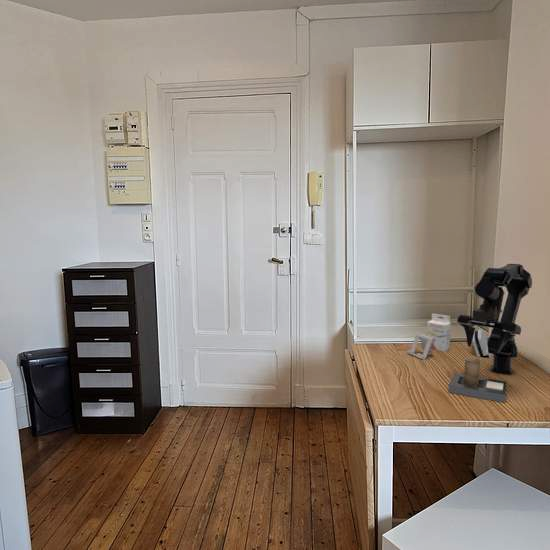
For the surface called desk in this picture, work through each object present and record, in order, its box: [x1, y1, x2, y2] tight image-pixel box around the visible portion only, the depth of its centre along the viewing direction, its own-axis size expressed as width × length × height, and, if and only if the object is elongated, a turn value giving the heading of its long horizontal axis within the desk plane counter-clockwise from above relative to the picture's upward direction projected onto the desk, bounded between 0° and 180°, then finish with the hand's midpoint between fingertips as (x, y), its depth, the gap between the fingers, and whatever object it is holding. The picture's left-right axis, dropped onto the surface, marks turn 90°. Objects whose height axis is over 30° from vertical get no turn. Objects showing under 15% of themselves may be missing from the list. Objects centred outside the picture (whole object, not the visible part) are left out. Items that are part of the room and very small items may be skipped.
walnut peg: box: [463, 357, 481, 388], centre depth 136 cm, size 4×4×10 cm
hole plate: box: [448, 372, 507, 403], centre depth 135 cm, size 12×16×3 cm
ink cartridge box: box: [426, 312, 451, 352], centre depth 179 cm, size 9×5×15 cm, turn 47°
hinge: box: [472, 329, 492, 359], centre depth 175 cm, size 17×5×10 cm, turn 150°
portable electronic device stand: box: [406, 332, 436, 361], centre depth 170 cm, size 9×8×8 cm
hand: (482, 349), depth 138 cm, fingers open, 9 cm apart
